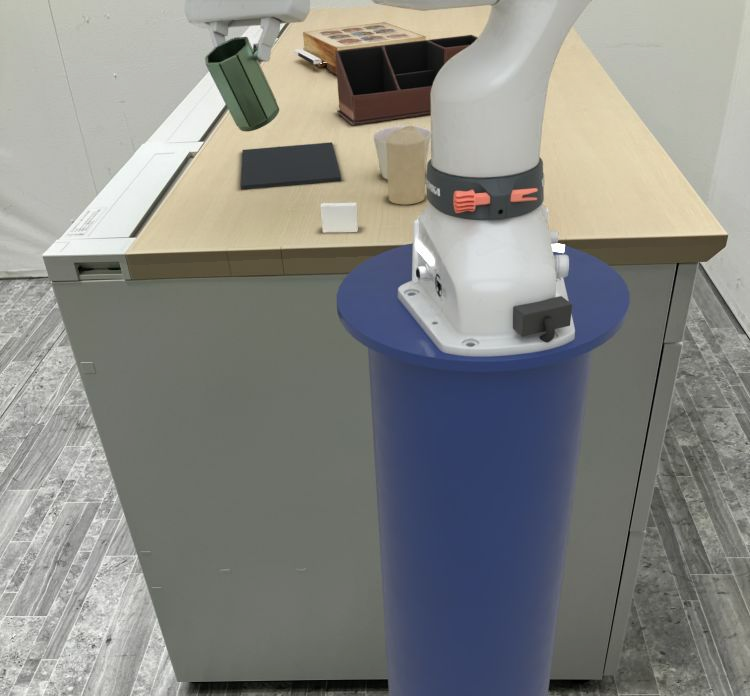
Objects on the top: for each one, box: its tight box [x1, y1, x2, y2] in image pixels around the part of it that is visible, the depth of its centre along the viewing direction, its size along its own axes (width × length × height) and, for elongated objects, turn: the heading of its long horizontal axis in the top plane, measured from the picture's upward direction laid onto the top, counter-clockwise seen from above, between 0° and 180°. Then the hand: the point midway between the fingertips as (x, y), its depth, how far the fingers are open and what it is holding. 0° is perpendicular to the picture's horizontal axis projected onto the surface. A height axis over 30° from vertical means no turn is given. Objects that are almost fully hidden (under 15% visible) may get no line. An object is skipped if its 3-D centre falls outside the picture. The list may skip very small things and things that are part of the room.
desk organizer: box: [335, 34, 479, 126], centre depth 160 cm, size 10×29×11 cm, turn 109°
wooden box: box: [293, 21, 427, 76], centre depth 199 cm, size 25×6×28 cm
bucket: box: [204, 36, 280, 133], centre depth 110 cm, size 10×6×6 cm
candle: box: [386, 125, 426, 205], centre depth 121 cm, size 6×6×10 cm
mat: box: [240, 141, 342, 190], centre depth 139 cm, size 20×16×1 cm
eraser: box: [319, 202, 359, 233], centre depth 114 cm, size 1×5×4 cm, turn 86°
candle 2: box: [372, 125, 431, 181], centre depth 130 cm, size 9×9×6 cm
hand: (240, 61), depth 109 cm, fingers closed on bucket, 6 cm apart
